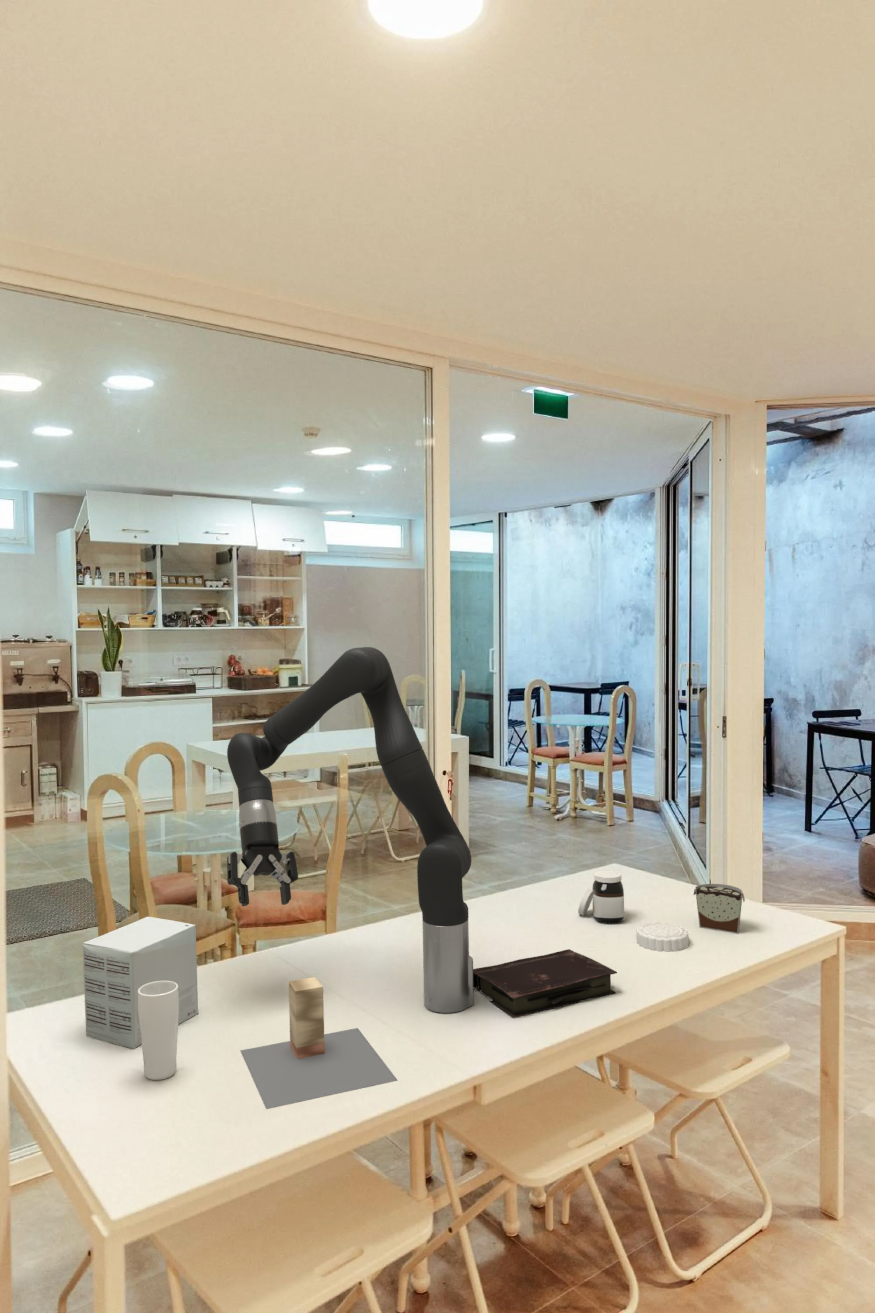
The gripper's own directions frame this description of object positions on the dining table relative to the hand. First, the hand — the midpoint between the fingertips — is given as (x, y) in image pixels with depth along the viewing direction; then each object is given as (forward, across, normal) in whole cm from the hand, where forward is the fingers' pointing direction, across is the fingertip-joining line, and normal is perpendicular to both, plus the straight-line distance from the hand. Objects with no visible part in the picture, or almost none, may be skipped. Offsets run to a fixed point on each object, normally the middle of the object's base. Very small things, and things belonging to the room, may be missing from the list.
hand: (265, 904), depth 184 cm
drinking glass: (+28, -22, 0) cm, 36 cm away
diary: (+24, +53, -14) cm, 60 cm away
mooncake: (+17, +94, -13) cm, 96 cm away
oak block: (+28, +1, -9) cm, 30 cm away
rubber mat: (+32, 0, -14) cm, 35 cm away
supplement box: (+18, -19, +19) cm, 32 cm away
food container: (+14, +114, -15) cm, 115 cm away
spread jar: (+6, +95, +6) cm, 95 cm away
